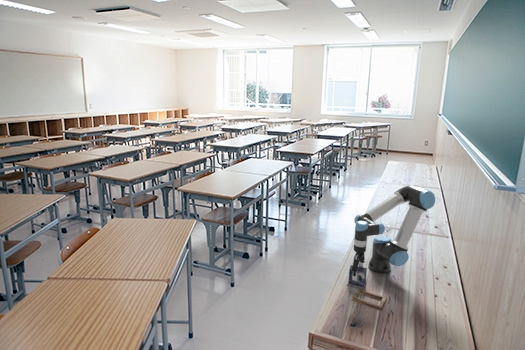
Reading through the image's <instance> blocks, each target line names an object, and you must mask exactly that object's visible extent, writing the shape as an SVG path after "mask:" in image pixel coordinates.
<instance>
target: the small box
mask: <svg viewBox="0 0 525 350" xmlns="http://www.w3.org/2000/svg"><path fill="white" fill-rule="evenodd" d="M352 267H353V264H351V265H350V267H349V269H348V282H347V283H350V284H354V285H359V286H363V287H364V288H365V287H366V284H367V283H366V282H367V281H366V280H367V273H368V272H367V270H368V268H367V267H364V266H363V267H359V265H358V269H357V281H355V280H352V275H353V271H352ZM365 283H366V284H365Z"/></svg>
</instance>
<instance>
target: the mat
mask: <svg viewBox="0 0 525 350" xmlns="http://www.w3.org/2000/svg"><path fill="white" fill-rule="evenodd" d="M367 283H368V282H367V281H366V283H365V285H366V284H367ZM346 286H349V287H352V288H356V289H357V290H358V289H363V290H364V288H365V287H363V286H359V285H354V284H350V283H348V282H347V283H346Z"/></svg>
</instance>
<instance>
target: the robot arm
mask: <svg viewBox="0 0 525 350" xmlns="http://www.w3.org/2000/svg"><path fill="white" fill-rule="evenodd" d="M405 203H408V210H407V212H406V214H405V216H404V219H403V221H402V223H401V225H400V227H399V229H398V231H397V234H396V236H395V238H394V239H392V238H390V237H388V236H382V234H384V233H385V225H384V224H383V223H382V222H376V221H377V220H379V219H380V218H381V217H383V216H384V215H386V214H388V213H389V212H391V211H393V209H395V208H396V207H398V206H400V205H401V204H402V205H403V204H405ZM435 203H436V196H435V193H434V192H433V191H431V190H429V189H426V188H423V187H420V186H418V185H413V184H412V185H406V186H403V187H401V188H399V189H397V190H396V191H395V192H393V194H392V195H391V196H389V197H388V198H386V199H385V200H384V201H382V202H381V203H379V204H378V205H376V206H375V207H373V208H372V209H370V210H369V211H367V212H365V213H364V214H357V215H356V216H355V217H354V221H353V222H354V223H355V228H354V238H353V241H354V242H353V243H354V244H353V251H354V252H355V254H354V256H353V262H352V265H353V267H352V271H353V275H352V280H355V281H357V269H358V266H359V267H363V268H364V264H365V263H366V261H365V253H366V251H367V241H368V237H369V236H370V237H371V236H375V237H374V238H373V241H372V250H371V251H372V252H371V258H370V259H369V262H368V268H369V269H370V270H371V271H373V272H376V273H379V274H386V273H390V271H391V269H392V265H393V266H395V267H402V266H404V265H405V264H406V263H407V262H408V261H409V253H408V250H409V248H408V244H409V243H410V241H411V238H412V237H413V234H414V232H415V231H416V228H417V226H418V224H419V221H420V219H421V217H422V215H423V214H425V213H426V212H427V211H428V210H429V209H432V208H433V207H434V206H435ZM379 235H380V236H379Z"/></svg>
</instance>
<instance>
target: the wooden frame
mask: <svg viewBox="0 0 525 350" xmlns="http://www.w3.org/2000/svg"><path fill="white" fill-rule="evenodd" d="M361 294H363V295H365V296H369V297H372V298H374V297H375V299H377V298H378V300H380V302H379V303H378V304H375V303H373V302H370V301H366V300H363V299H362V298H361V299H360V298H359V296H360V295H361ZM351 301H352V302H353V303H357V304H360V305H363V306H365V307H368V308H371V309H374V308H375V310H377V311H380V312H381V311H382V309H384V308H383V307H384V306H383V305H385V303H386V302H387V296H384V295H382V294H381V295H380V294H378V293H376V292H372V291H368V290H365V289H364V288H363V289H358V288H357V290H356V292H355V293H354V294H353V296H352V299H351Z"/></svg>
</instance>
